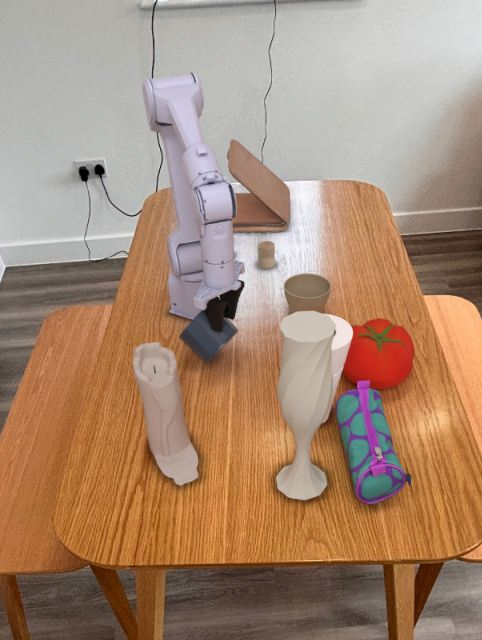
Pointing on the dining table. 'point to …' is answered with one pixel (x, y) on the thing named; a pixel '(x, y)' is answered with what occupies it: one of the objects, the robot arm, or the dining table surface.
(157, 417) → the candle
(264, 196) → the case
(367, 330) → the tomato
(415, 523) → the dining table surface
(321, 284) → the flower pot
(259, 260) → the peg
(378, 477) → the pencil case
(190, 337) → the blue cylindrical container
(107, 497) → the dining table surface
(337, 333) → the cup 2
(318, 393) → the vase
